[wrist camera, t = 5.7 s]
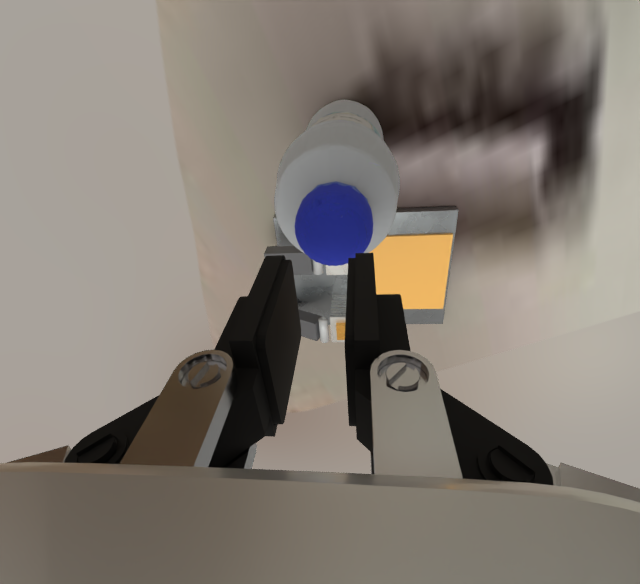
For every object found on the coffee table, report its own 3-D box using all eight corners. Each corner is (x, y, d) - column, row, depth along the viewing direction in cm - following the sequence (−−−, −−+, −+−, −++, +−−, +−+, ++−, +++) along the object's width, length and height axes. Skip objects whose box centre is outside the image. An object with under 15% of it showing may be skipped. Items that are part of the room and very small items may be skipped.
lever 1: (322, 242, 32) (320, 250, 31) (324, 268, 34) (322, 276, 32) (267, 244, 33) (263, 251, 32) (271, 269, 34) (268, 277, 33)
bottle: (383, 89, 29) (418, 143, 12) (384, 174, 33) (413, 304, 16) (300, 98, 30) (230, 162, 13) (310, 180, 34) (265, 310, 17)
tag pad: (452, 233, 34) (453, 234, 34) (442, 306, 39) (443, 308, 39) (360, 236, 35) (360, 237, 35) (362, 308, 40) (362, 309, 40)
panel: (455, 206, 34) (471, 230, 29) (441, 318, 41) (451, 351, 36) (275, 213, 36) (263, 238, 31) (291, 319, 43) (283, 351, 38)
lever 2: (330, 316, 36) (323, 325, 35) (331, 336, 38) (325, 345, 37) (289, 305, 39) (281, 312, 38) (292, 324, 40) (284, 331, 39)
